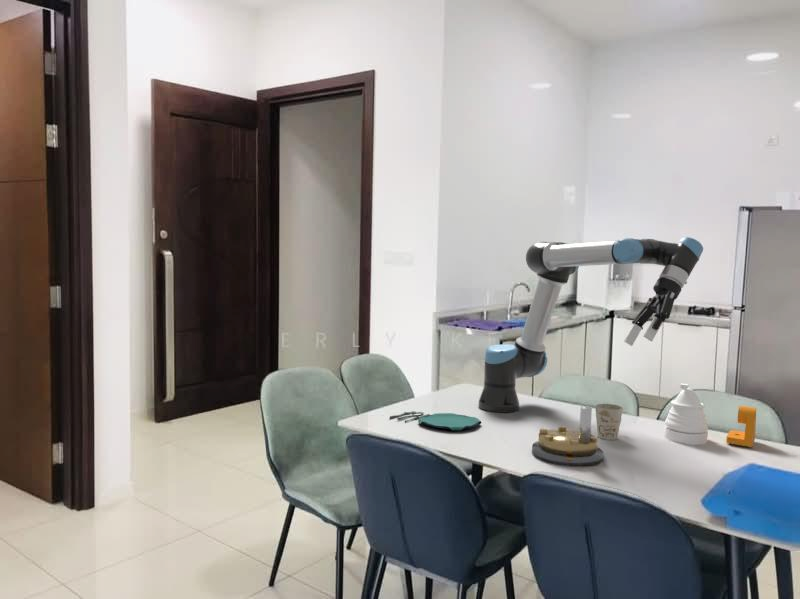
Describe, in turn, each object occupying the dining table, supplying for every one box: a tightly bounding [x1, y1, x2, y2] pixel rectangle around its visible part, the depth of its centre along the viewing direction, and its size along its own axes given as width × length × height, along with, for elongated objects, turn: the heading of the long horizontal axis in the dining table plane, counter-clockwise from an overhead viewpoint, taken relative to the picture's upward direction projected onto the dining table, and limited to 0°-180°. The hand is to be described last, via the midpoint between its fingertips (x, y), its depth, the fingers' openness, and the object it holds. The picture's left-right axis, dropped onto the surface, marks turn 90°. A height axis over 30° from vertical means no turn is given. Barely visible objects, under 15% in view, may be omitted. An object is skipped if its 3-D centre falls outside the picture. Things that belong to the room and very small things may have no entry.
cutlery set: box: [389, 410, 482, 432], centre depth 227 cm, size 20×30×2 cm, turn 53°
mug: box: [594, 403, 623, 441], centre depth 216 cm, size 8×13×10 cm, turn 137°
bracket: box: [725, 405, 757, 448], centre depth 212 cm, size 11×7×12 cm, turn 147°
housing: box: [531, 440, 604, 468], centre depth 193 cm, size 20×20×2 cm
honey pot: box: [663, 383, 709, 445], centre depth 215 cm, size 13×13×18 cm
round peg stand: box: [537, 406, 599, 456], centre depth 193 cm, size 17×17×13 cm
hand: (637, 341), depth 200 cm, fingers open, 13 cm apart
